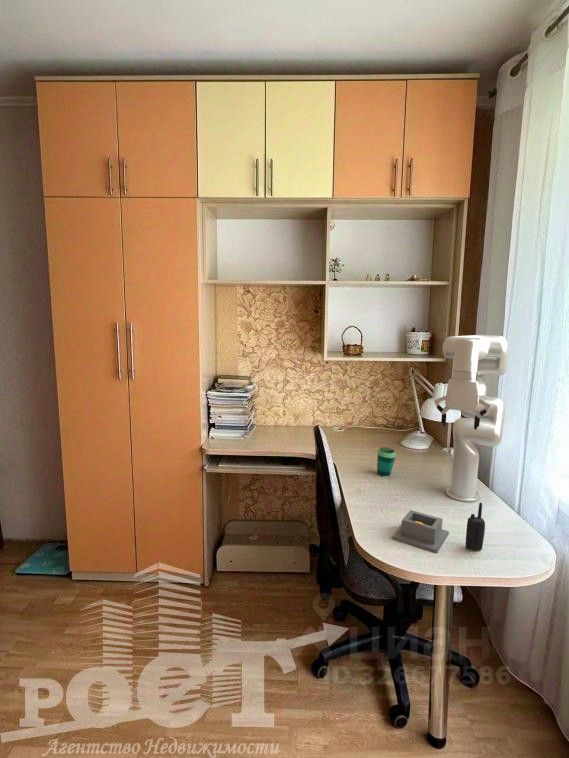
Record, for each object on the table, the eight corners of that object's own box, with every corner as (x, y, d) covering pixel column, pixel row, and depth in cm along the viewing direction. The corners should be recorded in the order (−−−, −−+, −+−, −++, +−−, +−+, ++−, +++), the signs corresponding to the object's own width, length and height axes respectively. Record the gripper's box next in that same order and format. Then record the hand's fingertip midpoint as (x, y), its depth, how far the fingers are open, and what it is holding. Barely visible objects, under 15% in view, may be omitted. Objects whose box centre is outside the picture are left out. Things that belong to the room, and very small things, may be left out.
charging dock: (406, 521, 151) (408, 504, 150) (448, 534, 143) (450, 515, 142) (392, 539, 139) (393, 520, 138) (437, 553, 131) (438, 533, 130)
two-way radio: (478, 545, 136) (483, 500, 134) (487, 552, 132) (492, 506, 130) (462, 546, 136) (466, 501, 133) (470, 554, 131) (475, 507, 129)
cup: (388, 471, 198) (390, 445, 196) (398, 477, 190) (400, 451, 189) (372, 472, 196) (374, 447, 194) (382, 479, 188) (383, 453, 186)
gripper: (491, 376, 143) (486, 427, 145) (436, 373, 148) (432, 421, 151) (494, 379, 136) (489, 432, 138) (436, 375, 141) (432, 426, 144)
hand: (459, 427), depth 144 cm, fingers open, 9 cm apart
